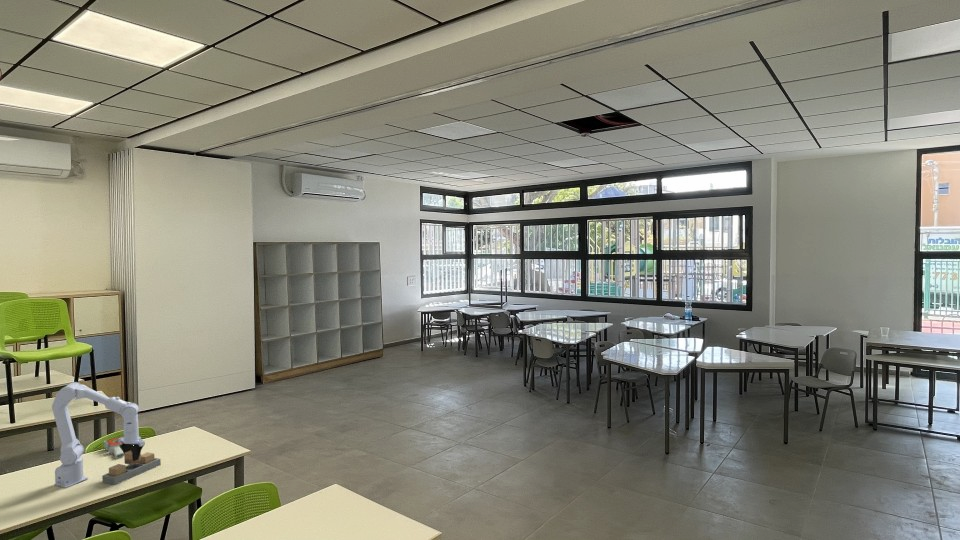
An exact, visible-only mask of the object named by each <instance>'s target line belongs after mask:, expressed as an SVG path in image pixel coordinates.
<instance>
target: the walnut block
mask: <svg viewBox="0 0 960 540" xmlns="http://www.w3.org/2000/svg"><path fill="white" fill-rule="evenodd" d="M141 453H142V451H141V452H140V456H139V459H138V460H135V461H134V460H133V455H132V451H128V452H125V453H124V457H123V458H124V460H123V461H124V465H125V464H126V465H133V464H135V463H137V462H140V461H141V455H142V454H141Z"/></svg>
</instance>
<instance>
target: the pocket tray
mask: <svg viewBox="0 0 960 540" xmlns="http://www.w3.org/2000/svg"><path fill="white" fill-rule="evenodd" d="M161 460H162V459H161V458H157V457H155V453H152V452H145V453H142V454H141V461H140V462H137V463H135V464H133V465H129V464H126V465H125V464H120V463H118V464H116V465H112V466H111V467H108V473H104V474H103V475H102V483H105V484H109V485H113V486H116V485H118V484H120V483H122V482H125V481H127V480H130V479H132V478H134V477H136V476H139V475H141V474H143V473H145V471H146V472H148V471H150V470H153V469H154V467H155V468H157V467H159V466H161V463H162V462H161ZM156 466H157V467H156ZM147 470H148V471H147ZM142 472H143V473H142ZM140 473H141V474H140Z"/></svg>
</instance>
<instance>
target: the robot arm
mask: <svg viewBox="0 0 960 540" xmlns="http://www.w3.org/2000/svg"><path fill="white" fill-rule="evenodd" d="M74 399H75V400H80V399H89V400H91V401H94V402H97V403H99V404H102V405H104V407H105V409H106V410H108V411H111V412H114V413H116V414H118V415H121V417H122V419H123V436H120V437H121V438H120V437H118V438H119V439H118V441H119V443H121V442H122V444H121V445H119V447H120V448H121V449H122V452H123V453H125V452H128V451H132V455H133V460H134V461H135V460H138V459H139V456H140V452H141V453H142V450H143V448H144V446H146V445H145V444H146V441H145V440H143V439H142V437H141V436H140V433H139V432H140V431H139V415H138V413H139V410H140V406H139V405H138V404H137V403H135V402H130V401H125V400H124V399H121V397H120V396H112V397H111V396H110V397H108V396H107V395H105V394H102V393H101V392H98V391H96V390H94V389H92V388H90V387H88V386H87V385H85V384H81V383H80V382H77V381H73V382H70V383H68V384H66V386H64V387H62V388H61V389H59V390H58V391H57V393H55V397H54V399H53V401H52V405H51V410H52V414H53V416H54V420H55V424H56V428H57V432H58V435H59V439H60V442H61V447H60V456H59V460H60V462H61V465H59V466H58V467H55V469H54V482H55V483H54V485H53V486H56V487H61V488H65V489H66V488H69V487H71V486H73V485H74V486H75V485H76V484H78V483H81V482H84V481H86V480H88V479H89V477H87V476H84V463H83V462H84V461H83V460H84V459H83V457H82V455H83V454H84V452H85V448H84V446H83V445H82V444H81V443H80V439H78V438H77V436H76V432H75V429H74V425H73V423H72V417H71V413H70V410H69V404H70V403H71V402H72V401H73V400H74ZM133 444H134V446H133Z"/></svg>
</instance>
